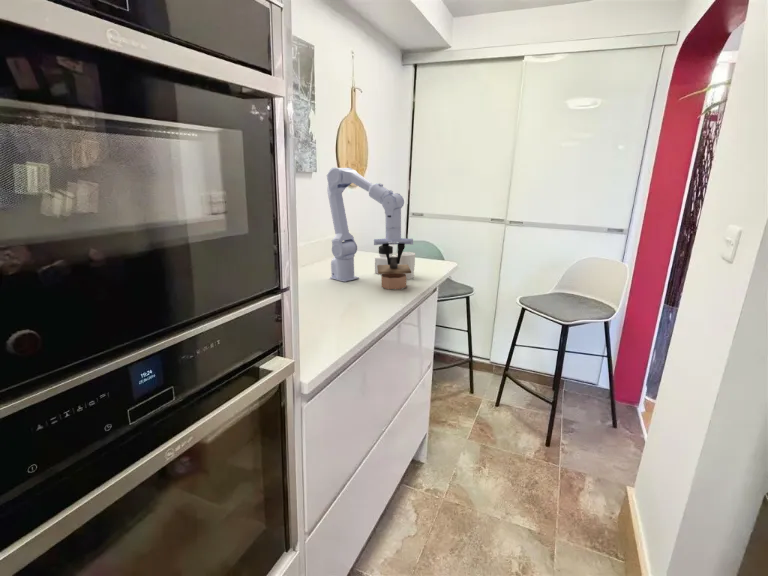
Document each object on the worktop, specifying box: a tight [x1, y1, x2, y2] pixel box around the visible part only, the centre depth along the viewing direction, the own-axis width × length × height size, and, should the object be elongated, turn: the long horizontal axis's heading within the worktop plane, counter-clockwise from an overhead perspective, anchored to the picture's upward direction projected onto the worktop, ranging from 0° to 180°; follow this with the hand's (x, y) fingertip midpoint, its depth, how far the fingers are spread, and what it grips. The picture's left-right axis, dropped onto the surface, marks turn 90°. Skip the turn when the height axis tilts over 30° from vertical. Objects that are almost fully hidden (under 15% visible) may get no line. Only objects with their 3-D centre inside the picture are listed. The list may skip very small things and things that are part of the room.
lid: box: [377, 257, 411, 275], centre depth 160 cm, size 12×12×5 cm
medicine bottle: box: [374, 245, 396, 275], centre depth 184 cm, size 7×7×12 cm
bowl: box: [380, 273, 407, 290], centre depth 162 cm, size 9×9×4 cm
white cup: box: [395, 251, 416, 280], centre depth 175 cm, size 8×8×10 cm
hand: (393, 263), depth 161 cm, fingers closed on lid, 3 cm apart
